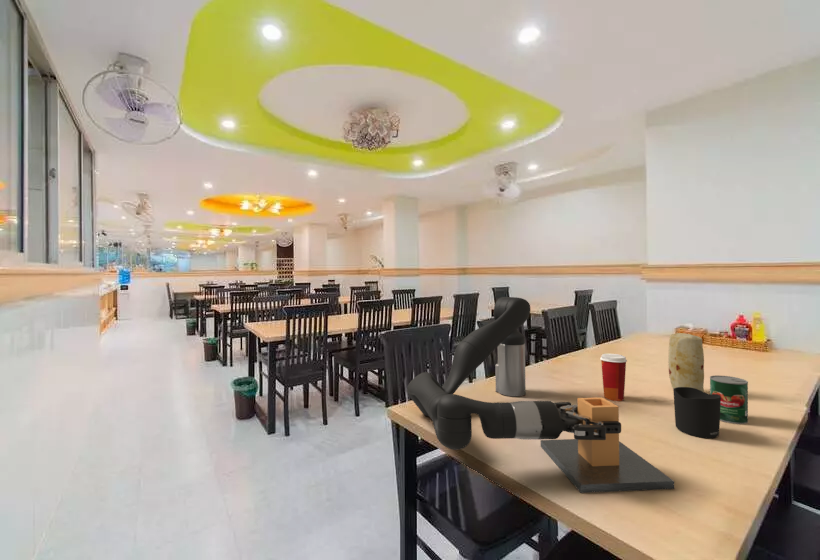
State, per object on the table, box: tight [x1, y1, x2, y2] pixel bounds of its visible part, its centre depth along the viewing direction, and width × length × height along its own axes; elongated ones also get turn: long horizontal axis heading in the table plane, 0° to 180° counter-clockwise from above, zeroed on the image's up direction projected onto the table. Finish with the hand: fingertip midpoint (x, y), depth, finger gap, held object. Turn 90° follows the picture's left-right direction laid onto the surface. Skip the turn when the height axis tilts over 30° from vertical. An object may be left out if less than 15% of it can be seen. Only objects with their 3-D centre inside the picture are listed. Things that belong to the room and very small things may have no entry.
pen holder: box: [672, 387, 721, 439], centre depth 90 cm, size 9×9×10 cm
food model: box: [667, 332, 705, 392], centre depth 120 cm, size 10×7×20 cm
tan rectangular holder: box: [577, 396, 620, 466], centre depth 74 cm, size 6×6×12 cm
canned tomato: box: [709, 374, 749, 425], centre depth 98 cm, size 8×8×11 cm
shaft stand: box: [540, 438, 675, 494], centre depth 75 cm, size 18×18×9 cm
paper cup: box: [599, 353, 628, 402], centre depth 115 cm, size 8×8×14 cm
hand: (607, 418), depth 74 cm, fingers open, 8 cm apart
